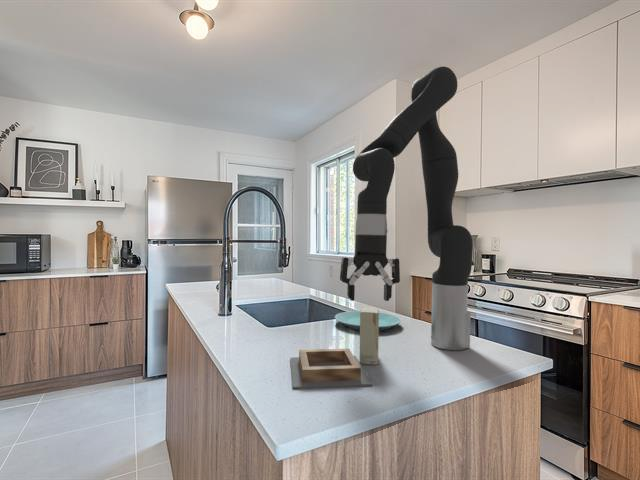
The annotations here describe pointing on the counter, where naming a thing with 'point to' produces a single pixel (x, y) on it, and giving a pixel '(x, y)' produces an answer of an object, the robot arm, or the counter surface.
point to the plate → (353, 320)
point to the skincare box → (369, 335)
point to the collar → (328, 372)
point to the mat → (299, 384)
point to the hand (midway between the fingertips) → (369, 300)
